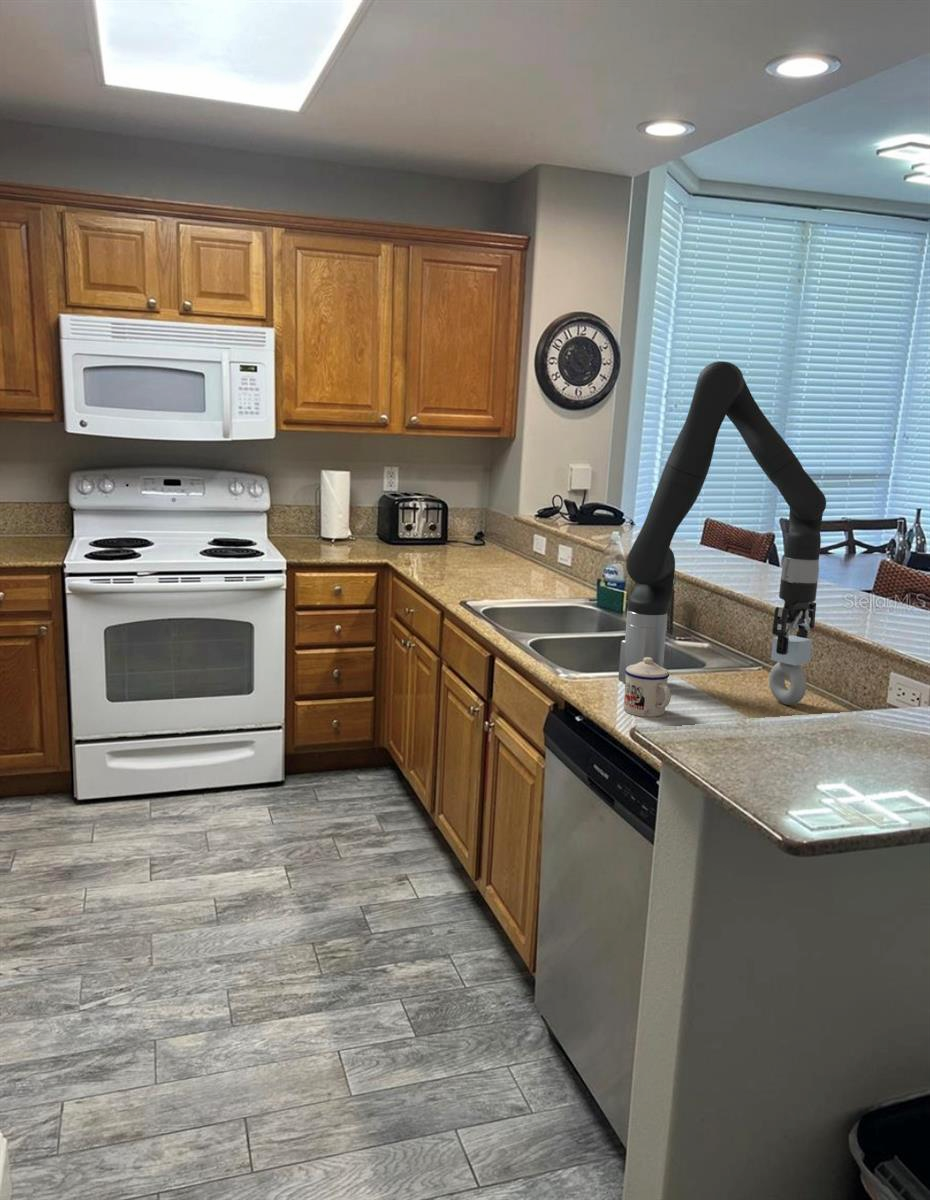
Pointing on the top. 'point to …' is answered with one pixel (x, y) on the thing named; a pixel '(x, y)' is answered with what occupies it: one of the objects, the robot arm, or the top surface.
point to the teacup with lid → (646, 689)
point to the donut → (796, 683)
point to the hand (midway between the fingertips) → (791, 651)
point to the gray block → (793, 651)
